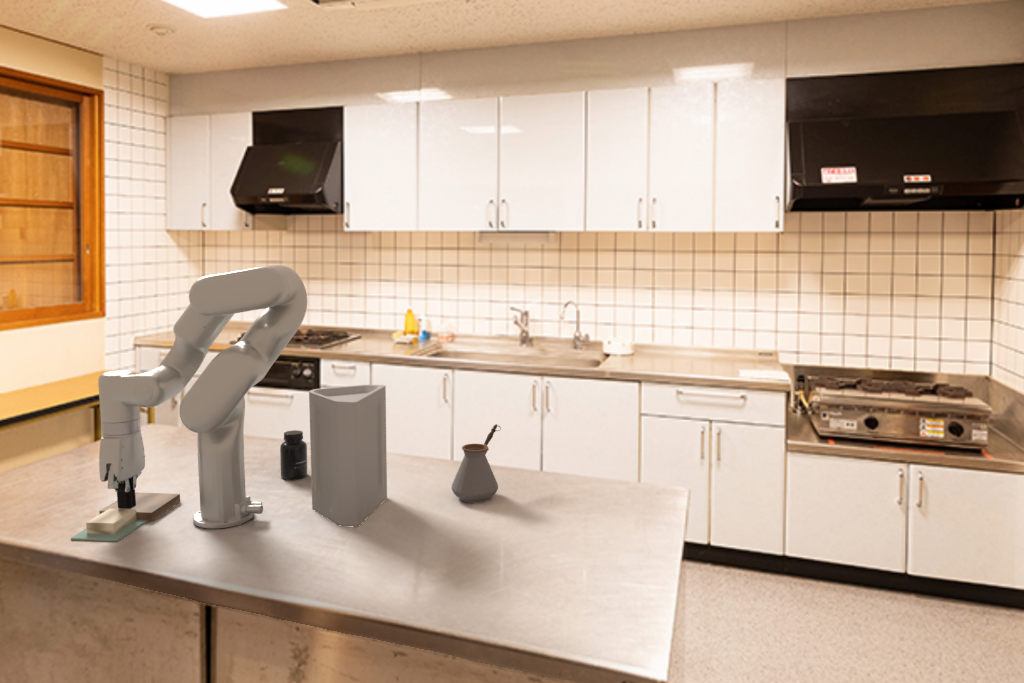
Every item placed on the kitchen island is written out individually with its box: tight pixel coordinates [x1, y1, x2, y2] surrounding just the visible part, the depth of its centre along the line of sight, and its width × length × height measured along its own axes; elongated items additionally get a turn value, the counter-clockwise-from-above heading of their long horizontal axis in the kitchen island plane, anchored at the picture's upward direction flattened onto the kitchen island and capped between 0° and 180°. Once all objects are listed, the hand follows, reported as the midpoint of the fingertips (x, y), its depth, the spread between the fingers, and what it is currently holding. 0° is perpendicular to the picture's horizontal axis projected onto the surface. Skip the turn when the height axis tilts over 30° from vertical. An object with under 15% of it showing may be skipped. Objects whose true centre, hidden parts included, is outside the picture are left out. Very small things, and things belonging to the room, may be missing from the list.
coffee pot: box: [451, 424, 502, 504], centre depth 178 cm, size 21×12×15 cm, turn 161°
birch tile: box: [85, 509, 137, 534], centre depth 153 cm, size 6×8×2 cm
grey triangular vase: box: [308, 384, 388, 528], centre depth 164 cm, size 19×15×28 cm
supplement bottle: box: [279, 429, 308, 481], centre depth 188 cm, size 7×7×12 cm
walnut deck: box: [98, 491, 181, 522], centre depth 163 cm, size 12×12×2 cm
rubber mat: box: [70, 520, 148, 542], centre depth 152 cm, size 10×11×1 cm
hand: (127, 507), depth 158 cm, fingers closed
